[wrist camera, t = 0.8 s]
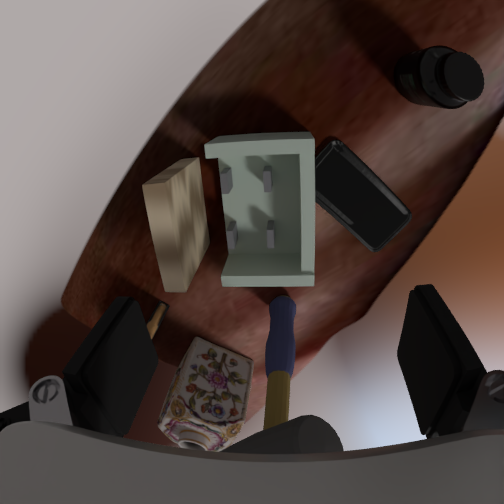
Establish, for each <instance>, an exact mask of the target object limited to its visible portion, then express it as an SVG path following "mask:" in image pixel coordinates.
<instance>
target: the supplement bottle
mask: <svg viewBox="0 0 504 504" xmlns="http://www.w3.org/2000/svg"><path fill="white" fill-rule="evenodd" d="M394 80H395V84H396V86H397V88H398V90H399V92H400V93H401V94H402V95H403V97H405V98H406V99H407V100H408V101H410V102H412V103H414V104H418V105H424V106H431V107H438V108H446V109H456V108H459V107H462V106H463V105H465V104H466V103H467V102H468V101H472V100H475V99H477V98H478V97H479V96H480V95H481V93H482V91H483V89H484V77H483V73H482V69H481V68H480V65H479V64H478V63H477V61H475V60H474V58H473V57H471V56H470V55H467V54H466V53H463V52H457V51H456V50H454V49H452V48H450V47H447V46H432V47H429V48H425V49H421V50H418V51H415V52H411V53H408V54H406V55H404V56H402V57H401V58H400V59H399V60H398V61H397V63H396V65H395V68H394Z"/></svg>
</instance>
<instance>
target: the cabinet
mask: <svg viewBox="0 0 504 504" xmlns="http://www.w3.org/2000/svg"><path fill="white" fill-rule="evenodd" d="M204 146H205V155H206V159H208V158H218V163H219V172H220V182H221V191H222V200H223V209H224V218H225V227H226V235H227V244H228V252H229V255H228V258H227V261H226V263H225V266H224V269H223V272H222V274H221V280H222V287H277V286H314V257H315V156H314V154H315V141H314V138H313V136H312V135H311V133H310V132H278V133H256V134H240V135H227V136H218V137H216V138H215V139H213V140H211V141H209V142H208V143H206V144H204Z"/></svg>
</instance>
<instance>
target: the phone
mask: <svg viewBox="0 0 504 504" xmlns="http://www.w3.org/2000/svg"><path fill="white" fill-rule="evenodd" d="M315 202H317V203H318V204H319V205H320V206H321V207H322V208H323V209H325V210H326V211H327V212H328V213H329V214H331V215H332V216H333V217H334V218H335V219H336V220H337V221H338V222H340V223H341V224H342V225H343V226H344V227H345V228H346V229H347V230H348V231H350V232H351V233H352V234H353V235H354V236H355V237H356V238H357V239H358V240H359V241H361V242H362V243H363V244H364V245H365V246H366V247H367V248H368V249H369V250H370V251H372V252H378V251H380V250H381V249H382V248H383V247H384V246H385V245H386V244H387V243H388V242H389V241H391V240H392V239H393V238H394V237H395V236H396V235H397V234H398V233H399V232H400V231H401V230H402V229H403V228H404V227H405V226H406V225H407V224H408V223H409V222H410V220H411V218H412V214H411V212H410V210H409V209H408V208H407V207H406V206H405V205H404V204H403V203H402V201H401V200H400V199H399V198H398V197H397V196H396V195H395V194H394V193H393V192H392V191H391V190H390V189H389V188H388V187H387V185H386V184H385V183H384V182H383V181H382V180H381V179H380V178H379V177H378V176H377V175H376V174H375V173H374V172H373V171H372V170H371V169H370V168H369V167H368V166H367V165H366V164H365V163H364V162H363V161H362V160H361V159H359V158H358V157H357V156H356V155H355V154H354V153H353V152H352V151H351V150H350V149H349V148H348V147H347V146H346V145H345V144H344V143H342V142H341V141H339V140H333V141H331V142H330V143H329V144H328V145H327V146H326V147H325V148H324V149H323V150H322V151H321V152H320V153H319V155H318V156H317V157H316V158H315Z"/></svg>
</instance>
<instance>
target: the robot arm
mask: <svg viewBox="0 0 504 504" xmlns="http://www.w3.org/2000/svg"><path fill="white" fill-rule="evenodd" d="M397 357H398V361H399V364H400V367H401V370H402V373H403V376H404V379H405V382H406V385H407V388H408V391H409V395H410V398H411V401H412V404H413V408H414V411H415V414H416V417H417V421H418V424H419V428H420V432H421V434H422V435H426V437H427V439H425V440H419V441H414V442H408V443H403V444H396V445H390V446H383V447H377V448H369V449H361V450H352V451H341V452H328V453H311V454H244V453H227V452H214V451H203V450H194V449H186V448H178V447H171V446H164V445H158V444H152V443H147V442H141V441H136V440H131V439H126V438H123V436H124V434H127V433H128V432H129V430H130V427H131V425H132V423H133V420H134V418H135V416H136V413H137V411H138V408H139V406H140V404H141V401H142V399H143V397H144V395H145V392H146V390H147V387H148V385H149V383H150V381H151V378H152V376H153V374H154V372H155V369H156V367H157V365H158V355H157V353H156V350H155V347H154V345H153V342H152V339H151V337H150V334H149V331H148V328H147V325H146V323H145V320H144V317H143V314H142V311H141V308H140V305H139V303H138V301H135V299H134V298H133V297H117V298H115V300H114V301H113V302H112V304H111V305H110V306H109V308H108V309H107V310H106V311H105V313H104V314H103V315H102V317H101V318H100V319H99V321H98V322H97V323H96V325H95V326H94V327H93V329H92V330H91V332H90V333H89V334H88V336H87V337H86V338H85V340H84V341H83V343H82V344H81V346H80V347H79V348H78V350H77V351H76V352H75V354H74V355H73V357H72V358H71V359H70V361H69V362H68V364H67V365H66V367H65V368H64V370H63V371H62V372H63V374H64V376H65V377H64V378H63V380H62V379H60V378H59V377H57V376H47V377H44V378H42V379H40V380H38V381H37V382H36V383H35V384H34V385H33V386H32V387H31V390H30V392H29V401H28V402H26V403H23V404H21V405H18V406H16V407H14V408H11V409H9V410H7V411H4V412H2V413H0V504H504V371H502V370H493V371H490V372H488V373H487V372H486V370H485V368H484V366H483V364H482V362H481V361H480V359H479V357H478V355H477V353H476V352H475V350H474V348H473V347H472V345H471V343H470V341H469V340H468V338H467V337H466V335H465V333H464V332H463V330H462V328H461V327H460V325H459V323H458V322H457V321H456V319H455V318H454V316H453V315H452V313H451V311H450V310H449V309H448V307H447V305H446V304H445V302H444V301H443V299H442V298H441V296H440V295H439V293H438V292H437V290H436V289H435V288H434V286H433V285H432V284H427V285H417V286H416V287H415V288H414V290H411V291H410V293H409V299H408V304H407V309H406V314H405V319H404V324H403V329H402V333H401V337H400V342H399V346H398V350H397Z"/></svg>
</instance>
